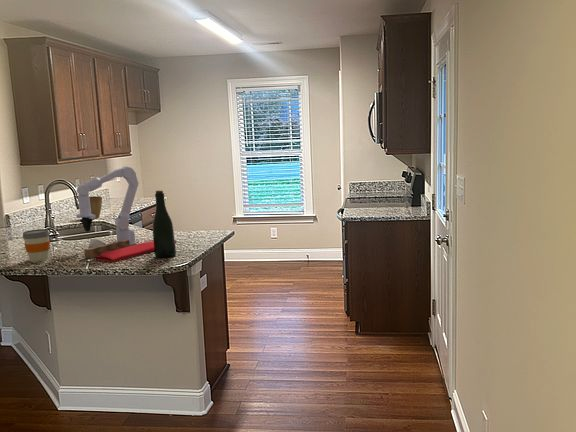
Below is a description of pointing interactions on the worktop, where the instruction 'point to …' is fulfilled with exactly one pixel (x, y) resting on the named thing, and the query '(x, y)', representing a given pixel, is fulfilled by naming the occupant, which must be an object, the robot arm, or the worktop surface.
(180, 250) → the worktop surface
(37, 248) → the reusable coffee cup
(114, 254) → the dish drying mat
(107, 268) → the worktop surface
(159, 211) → the dark green wine bottle
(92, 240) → the die
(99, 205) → the plant pot
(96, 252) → the brown wooden bar
